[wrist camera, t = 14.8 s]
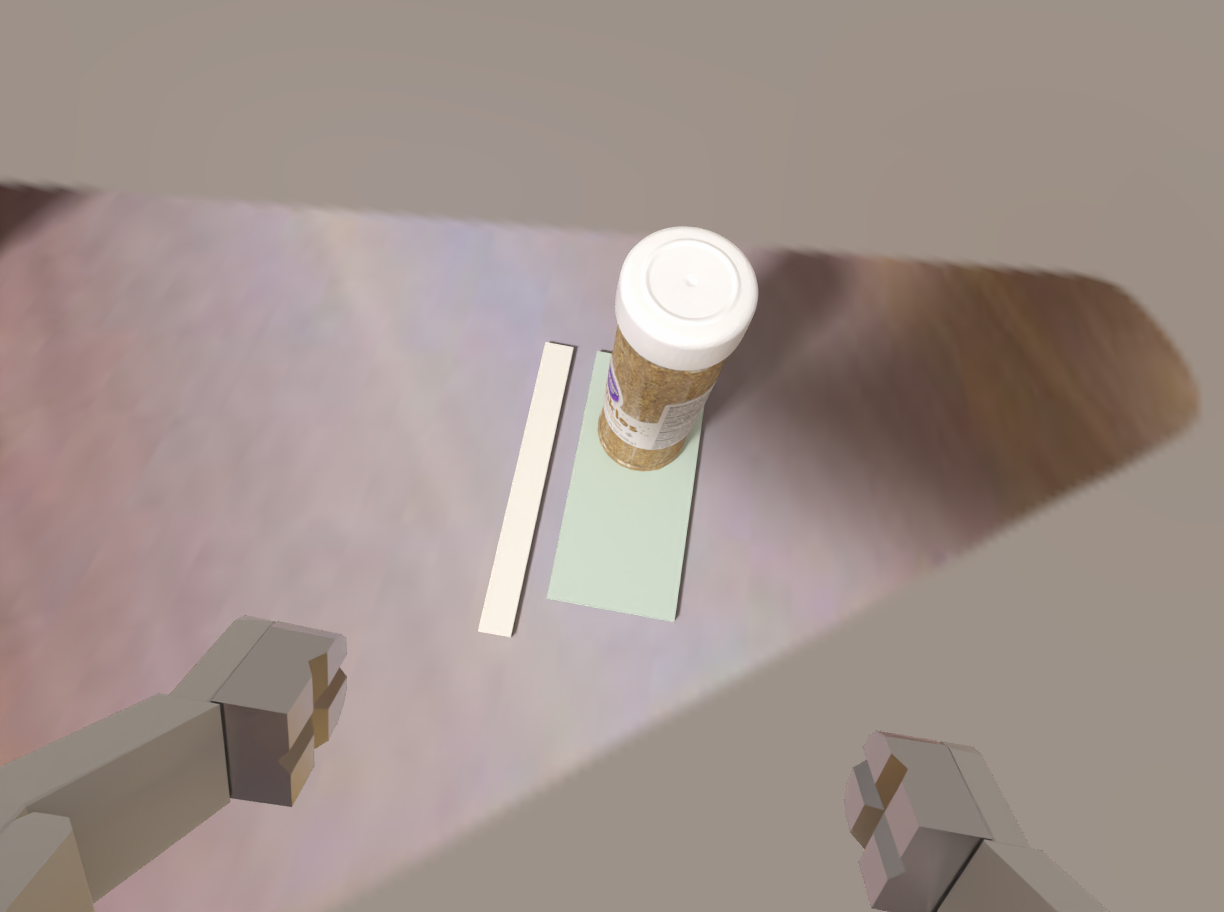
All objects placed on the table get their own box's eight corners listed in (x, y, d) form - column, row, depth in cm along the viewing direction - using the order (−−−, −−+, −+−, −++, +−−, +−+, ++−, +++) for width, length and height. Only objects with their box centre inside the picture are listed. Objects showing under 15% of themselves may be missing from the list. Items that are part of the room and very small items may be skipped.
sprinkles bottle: (581, 413, 34) (593, 250, 21) (659, 377, 35) (715, 200, 22) (624, 490, 33) (665, 367, 20) (703, 451, 34) (789, 309, 21)
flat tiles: (478, 631, 30) (477, 630, 30) (545, 344, 35) (545, 341, 35) (667, 666, 31) (668, 665, 30) (707, 375, 36) (708, 372, 35)
